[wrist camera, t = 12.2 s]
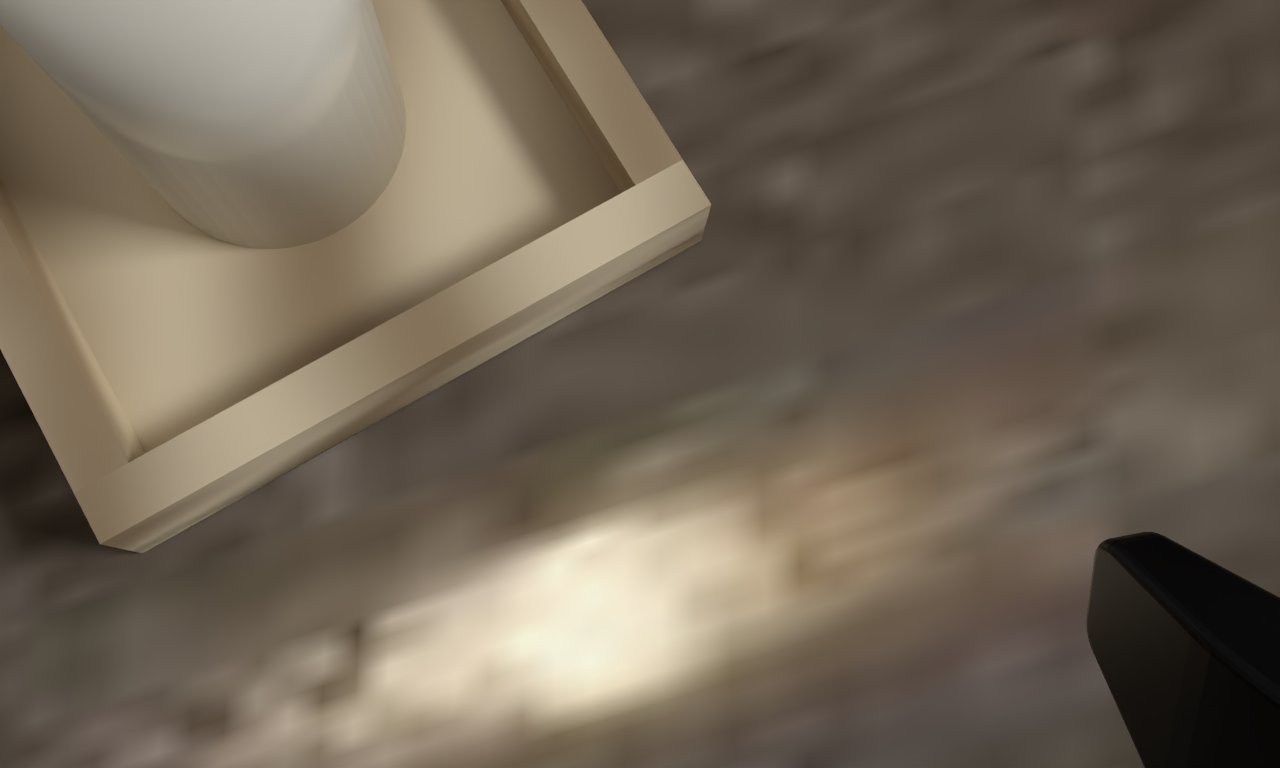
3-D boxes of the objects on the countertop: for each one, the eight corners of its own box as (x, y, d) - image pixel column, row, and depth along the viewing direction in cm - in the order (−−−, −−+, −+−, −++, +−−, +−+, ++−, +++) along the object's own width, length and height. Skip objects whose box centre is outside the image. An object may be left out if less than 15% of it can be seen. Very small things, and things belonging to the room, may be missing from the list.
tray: (142, 553, 22) (99, 544, 20) (-129, 29, 24) (-190, -25, 22) (700, 240, 24) (711, 204, 22) (407, -225, 26) (392, -297, 24)
